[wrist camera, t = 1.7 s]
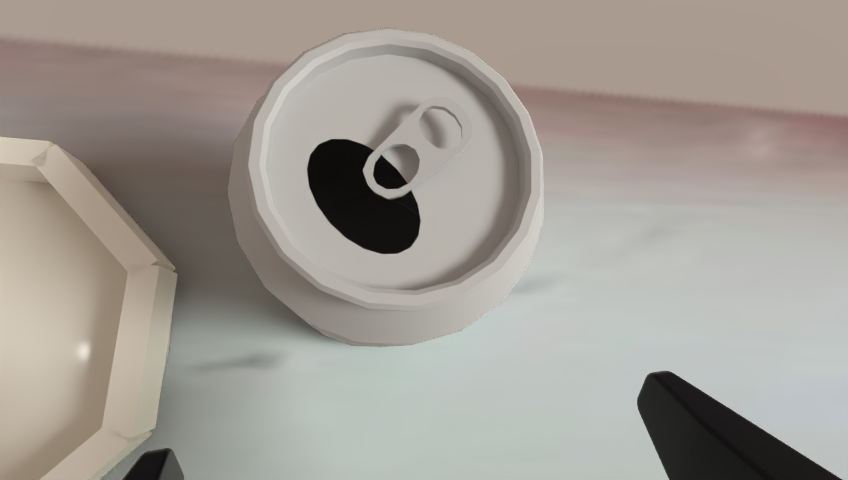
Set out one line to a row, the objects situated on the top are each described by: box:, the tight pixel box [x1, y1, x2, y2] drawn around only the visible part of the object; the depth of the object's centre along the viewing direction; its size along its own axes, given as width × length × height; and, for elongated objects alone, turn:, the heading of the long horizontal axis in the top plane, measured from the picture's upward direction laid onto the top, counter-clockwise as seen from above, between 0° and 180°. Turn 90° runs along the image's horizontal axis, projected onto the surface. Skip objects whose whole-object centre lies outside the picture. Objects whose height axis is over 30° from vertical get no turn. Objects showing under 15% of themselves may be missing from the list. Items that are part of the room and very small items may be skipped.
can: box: [227, 28, 544, 347], centre depth 15 cm, size 8×8×12 cm
